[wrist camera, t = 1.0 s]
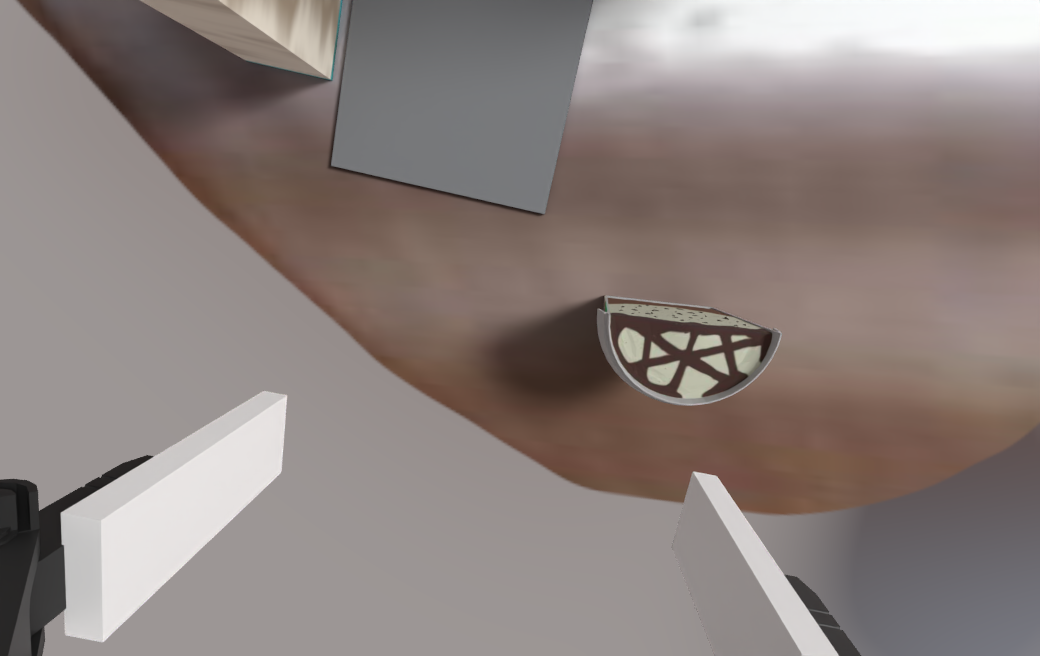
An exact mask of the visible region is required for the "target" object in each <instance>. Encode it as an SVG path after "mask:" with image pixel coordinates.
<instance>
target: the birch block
mask: <svg viewBox="0 0 1040 656" xmlns="http://www.w3.org/2000/svg"><path fill="white" fill-rule="evenodd" d="M140 1H142V2H143V3H145V4H147V5H149V6H150V7H152V8H154V9H156V10H157V11H159V12H161V13H163V14H165V15H166V16H168V17H170V18H172V19H173V20H175V21H177V22H179V23H180V24H182V25H184V26H186V27H187V28H189V29H191V30H193V31H194V32H196V33H198V34H200V35H201V36H203V37H205V38H207V39H209V40H210V41H212V42H214V43H216V44H217V45H219V46H221V47H223V48H224V49H226V50H228V51H230V52H231V53H233V54H235V55H237V56H238V57H240V58H242V59H244V60H246V61H248V62H252V63H257V64H261V65H265V66H270V67H274V68H279V69H283V70H287V71H292V72H296V73H301V74H305V75H309V76H314V77H318V78H323V79H327V80H331V81H332V78H333V70H334V62H335V54H336V47H337V39H338V31H339V23H340V15H341V8H342V0H140Z"/></svg>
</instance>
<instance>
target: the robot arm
mask: <svg viewBox="0 0 1040 656" xmlns="http://www.w3.org/2000/svg"><path fill="white" fill-rule="evenodd" d="M286 403H287V395H283V394H278V393H272V392H267V391H263V392H261V393H259V394H258V395H256V396H254V397H253V398H251V399H249V400H248V401H246V402H244V403H243V404H241V405H239V406H238V407H236V408H234V409H233V410H231V411H229V412H228V413H226V414H225V415H223V416H221V417H219V418H218V419H216V420H214V421H213V422H211V423H209V424H208V425H206V426H204V427H203V428H201V429H199V430H198V431H196V432H194V433H193V434H191V435H189V436H188V437H186V438H184V439H183V440H181V441H179V442H178V443H176V444H174V445H173V446H171V447H169V448H168V449H166V450H165V451H163V452H161V453H159V454H158V455H156V456H148V455H147V456H144V457H140V458H137V459H134V460H131V461H128V462H125V463H122V464H121V465H119V466H117V467H115V468H113V469H112V470H110V471H108V472H106V473H105V474H103V475H102V477H101V478H99V477H98V478H96V479H94V480H92V481H91V482H89V483H87V484H86V485H85V487H80V488H78V489H77V490H75V491H73V492H72V493H70V494H68V495H66V496H65V497H63V498H61V499H59V500H57V501H56V502H54V503H52V504H51V505H49V506H47V507H45V508H44V509H42V510H40V511H39V505H38V490H37V486H36V485H35V484H33V483H31V482H29V481H27V480H18V479H4V480H0V656H42V654H43V648H44V642H45V632H44V626H45V625H46V624H47V623H49V622H50V621H51V620H52V619H54V618H55V617H56V616H57V615H59V614H60V613H61V612H62V611H63V610H64V615H65V616H64V618H65V635H68V636H73V637H78V638H83V639H88V640H94V641H99V642H104V641H105V640H106V639H107V638H108V637H109V636H110V635H111V634H112V633H113V632H114V631H115V630H116V629H117V628H118V627H119V626H121V624H123V623H124V622H125V621H126V620H127V619H128V618H129V617H130V616H131V615H132V614H133V613H134V612H135V611H136V610H137V609H138V608H139V607H140V606H141V605H143V604H144V603H145V602H146V601H147V600H148V599H149V598H150V597H151V596H152V595H153V594H154V593H155V592H156V591H157V590H158V589H159V588H160V587H161V586H163V584H165V583H166V582H167V581H168V580H169V579H170V578H171V577H172V576H173V575H174V574H175V573H176V572H177V571H178V570H179V569H180V568H181V567H183V566H184V565H185V564H186V562H188V561H189V560H190V559H191V558H192V557H193V556H194V555H195V554H196V553H197V552H198V551H199V550H200V549H201V548H202V547H204V545H206V544H207V543H208V542H209V541H210V540H211V539H212V538H213V537H214V536H215V535H216V534H217V533H218V532H219V531H220V530H221V529H222V528H223V527H225V525H227V524H228V523H229V522H230V521H231V520H232V519H233V518H234V517H235V516H236V515H237V514H238V513H239V512H240V511H241V510H242V509H243V508H244V507H246V506H247V505H248V504H249V503H250V502H251V501H252V500H253V499H254V498H255V497H256V496H257V495H258V494H259V493H260V492H261V491H262V490H263V489H264V488H265V487H266V486H268V485H269V484H270V483H271V482H272V481H273V480H274V479H275V478H276V477H277V476H278V475H279V474H280V473H281V469H282V456H283V444H284V430H285V417H286ZM672 549H673V551H674V554H675V557H676V559H677V561H678V564H679V567H680V569H681V572H682V574H683V577H684V579H685V582H686V584H687V587H688V589H689V592H690V595H691V597H692V600H693V602H694V605H695V607H696V610H697V612H698V615H699V618H700V620H701V623H702V625H703V628H704V630H705V633H706V635H707V638H708V640H709V643H710V646H711V648H712V651H713V653H714V656H861V655H860V653H859V652H858V651H857V649H856V648H855V646H854V645H853V644H852V642H851V641H850V640H849V639H848V637H847V636H846V634H845V633H844V631H843V630H840V626H839V625H838V623H837V622H836V621H835V619H834V618H833V616H832V615H829V611H828V610H827V608H826V607H825V606H824V604H823V603H822V601H821V600H820V599H819V597H818V596H817V595H816V593H814V592H813V591H812V590H811V589H810V588H809V587H808V586H806V585H805V584H804V583H803V582H802V581H801V580H799V579H798V578H797V577H794V576H788V575H784V574H783V573H782V571H781V570H780V568H779V567H778V565H777V564H776V562H775V561H774V559H773V558H772V557H771V555H770V554H769V552H768V551H767V549H766V548H765V546H764V545H763V543H762V542H761V540H760V539H759V537H758V536H757V534H756V533H755V532H754V530H753V529H752V527H751V526H750V524H749V523H748V522H747V520H746V518H745V517H744V515H743V514H742V512H741V511H740V509H739V508H738V507H737V505H736V504H735V502H734V501H733V499H732V498H731V496H730V495H729V493H728V492H727V490H726V489H725V487H724V486H723V484H722V483H721V482H720V480H719V479H718V477H717V476H714V475H709V474H704V473H698V472H693V473H692V476H691V480H690V483H689V487H688V490H687V494H686V497H685V501H684V504H683V508H682V511H681V515H680V518H679V522H678V525H677V529H676V533H675V536H674V540H673V543H672Z"/></svg>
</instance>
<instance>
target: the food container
mask: <svg viewBox="0 0 1040 656" xmlns="http://www.w3.org/2000/svg"><path fill="white" fill-rule="evenodd" d="M597 329H598V336H599V340H600V344H601V348H602V350H603V352H604V354H605V357H606V359H607V361H608V362H609V364H610V365H611V367H612V368H613V370H614V371H615V372H616V373H617V374H618V375H619V376H620V378H621V379H622V380H623V381H625V382H626V383H627V384H628V385H630V386H631V387H632V388H634V389H635V390H637V391H639V392H641V393H643V394H645V395H646V396H648V397H650V398H653V399H656V400H658V401H661V402H664V403H669V404H674V405H688V406H691V405H701V404H707V403H711V402H715V401H719V400H722V399H724V398H727V397H729V396H732V395H734V394H735V393H737V392H739V391H740V390H742V389H744V388H745V387H747V386H748V385H749V384H750V383H751V382H753V381H754V380H755V379H756V378H757V377H758V376H759V375H760V374H761V373H762V372H763V371H764V370H765V368H766V367H767V365H768V364H769V362H770V361H771V359H772V358H773V356H774V354H775V352H776V350H777V348H778V346H779V342H780V339H781V336H782V333H781V332H780V331H779V330H777V329H776V328H773V330H772V329H769V328H767V327H764V326H761V325H759V324H756V323H753V322H751V321H748V320H746V319H743V318H740V317H738V316H735V315H732V314H730V313H727V312H724V311H722V310H719V309H717V308H714V307H706V306H697V305H688V304H678V303H669V302H660V301H651V300H642V299H633V298H624V297H615V296H606V295H604V311H603V310H601V309H597Z"/></svg>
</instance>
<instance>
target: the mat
mask: <svg viewBox="0 0 1040 656" xmlns="http://www.w3.org/2000/svg"><path fill="white" fill-rule="evenodd" d="M592 2H593V0H353V3H352V10H351V18H350V26H349V33H348V41H347V48H346V56H345V63H344V71H343V78H342V86H341V93H340V101H339V109H338V116H337V124H336V131H335V139H334V146H333V154H332V161H331V166H334V167H339V168H343V169H347V170H352V171H356V172H361V173H365V174H369V175H374V176H378V177H383V178H387V179H391V180H396V181H400V182H405V183H409V184H413V185H418V186H422V187H427V188H431V189H435V190H440V191H444V192H449V193H453V194H458V195H462V196H466V197H471V198H475V199H480V200H484V201H488V202H493V203H497V204H502V205H506V206H510V207H515V208H519V209H524V210H528V211H532V212H537V213H541V214H545V210H546V206H547V201H548V197H549V192H550V188H551V184H552V179H553V175H554V170H555V166H556V162H557V157H558V153H559V148H560V144H561V139H562V135H563V131H564V126H565V122H566V117H567V113H568V109H569V104H570V100H571V95H572V91H573V86H574V82H575V78H576V73H577V69H578V64H579V60H580V55H581V51H582V47H583V42H584V38H585V33H586V29H587V25H588V20H589V16H590V11H591V7H592Z"/></svg>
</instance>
